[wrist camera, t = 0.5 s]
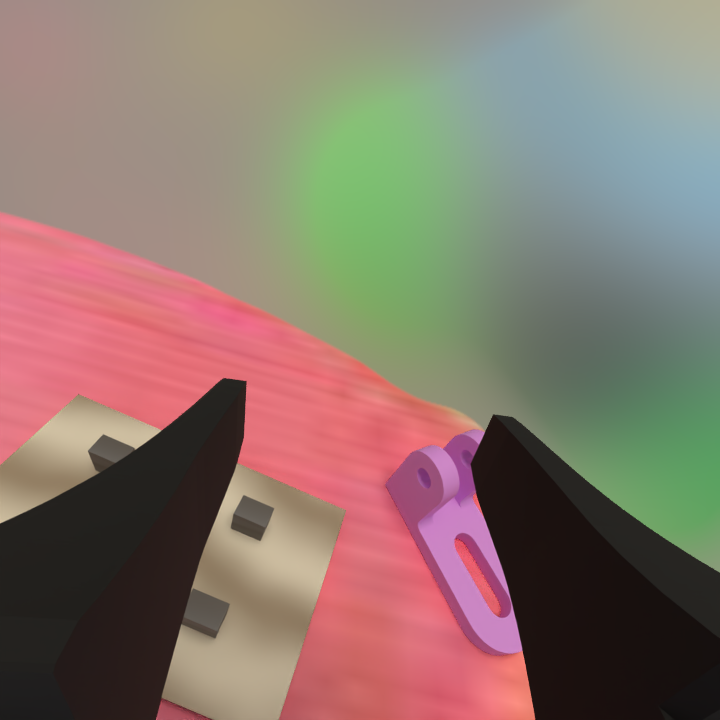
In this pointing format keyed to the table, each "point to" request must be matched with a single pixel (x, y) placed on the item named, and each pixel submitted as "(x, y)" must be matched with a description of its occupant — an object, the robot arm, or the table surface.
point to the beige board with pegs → (206, 563)
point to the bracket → (455, 520)
